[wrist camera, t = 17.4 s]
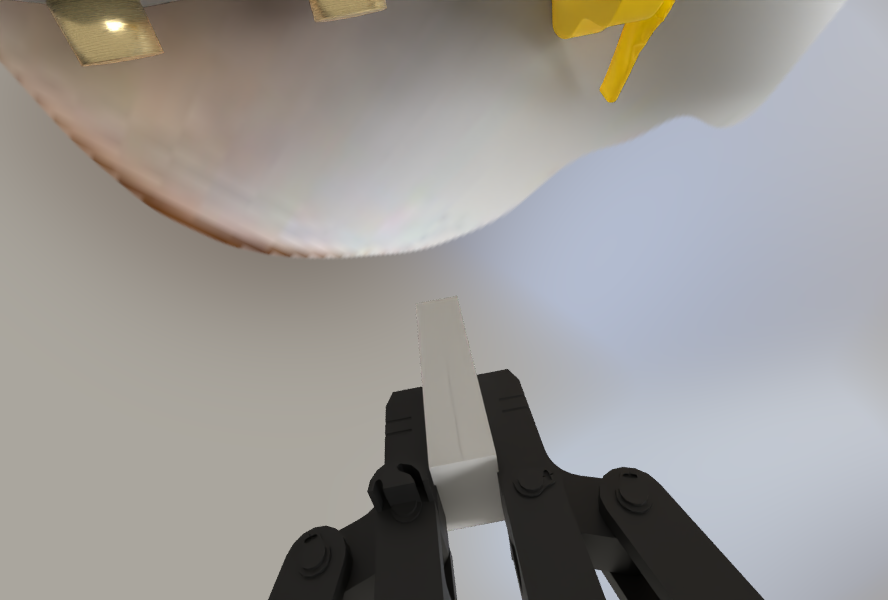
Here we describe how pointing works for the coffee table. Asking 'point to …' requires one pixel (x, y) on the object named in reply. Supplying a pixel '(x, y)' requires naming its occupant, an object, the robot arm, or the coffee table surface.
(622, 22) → the figure statuette
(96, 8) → the knob
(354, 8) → the knob
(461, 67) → the coffee table surface
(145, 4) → the knob housing
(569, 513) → the robot arm
